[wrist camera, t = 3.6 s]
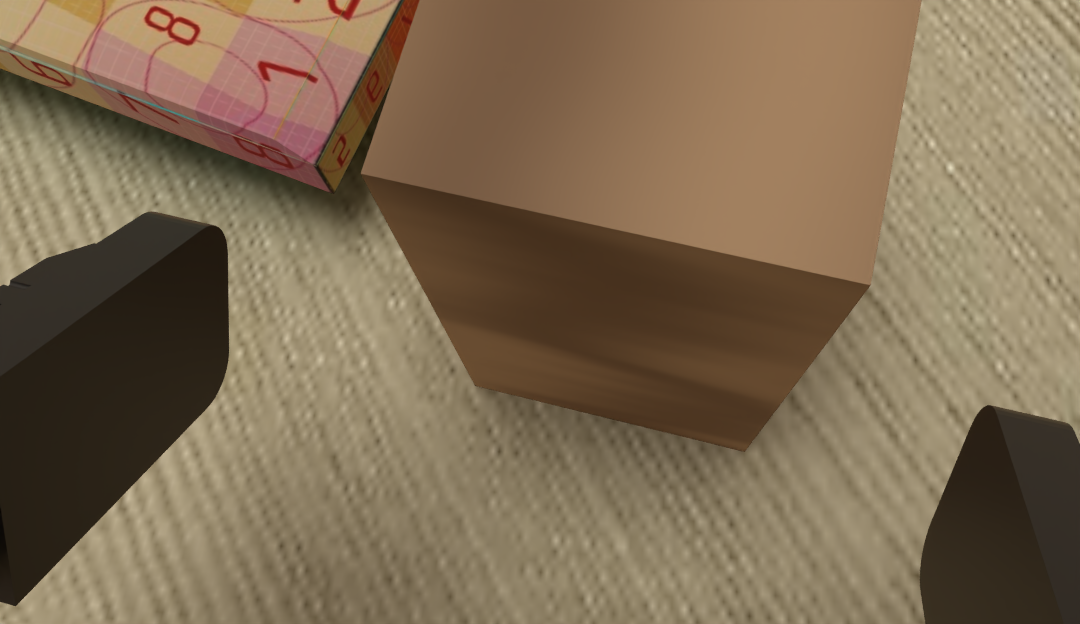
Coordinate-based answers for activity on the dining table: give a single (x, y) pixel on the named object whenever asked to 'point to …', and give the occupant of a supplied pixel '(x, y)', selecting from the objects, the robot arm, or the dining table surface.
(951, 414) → the dining table surface
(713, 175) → the walnut block
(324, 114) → the puzzle game
